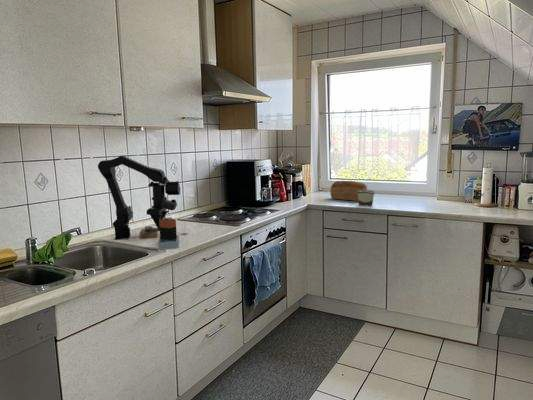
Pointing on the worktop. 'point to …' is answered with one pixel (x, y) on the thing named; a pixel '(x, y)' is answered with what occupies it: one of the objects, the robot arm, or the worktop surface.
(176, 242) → the tray
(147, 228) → the crank
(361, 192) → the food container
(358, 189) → the bread
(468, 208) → the worktop surface
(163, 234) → the battery
